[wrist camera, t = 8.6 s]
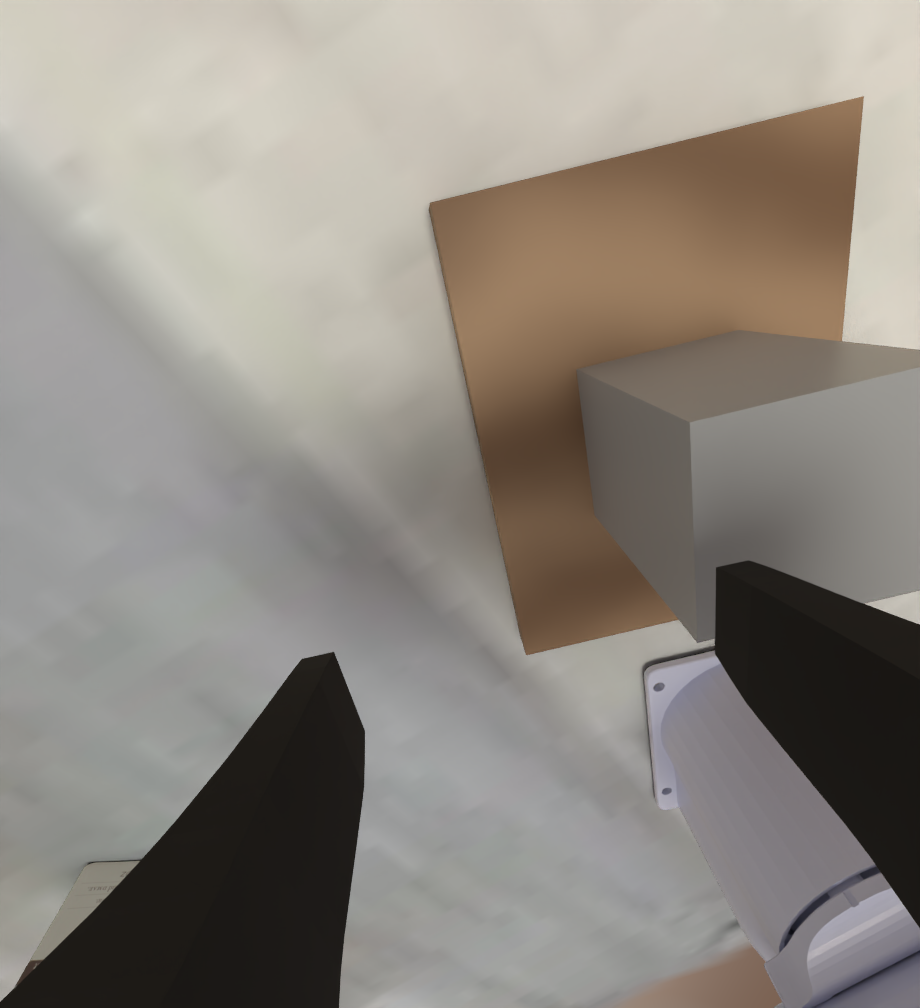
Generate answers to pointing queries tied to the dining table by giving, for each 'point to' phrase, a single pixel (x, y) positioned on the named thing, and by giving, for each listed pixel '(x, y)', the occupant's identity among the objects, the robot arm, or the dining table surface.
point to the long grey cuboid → (758, 464)
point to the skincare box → (80, 905)
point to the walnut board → (628, 321)
